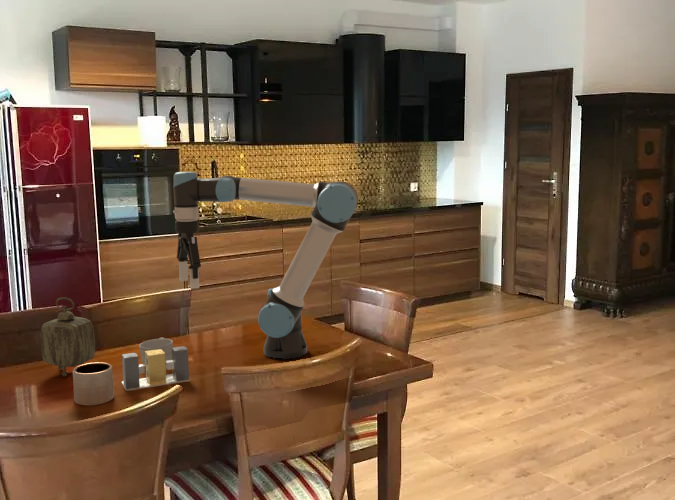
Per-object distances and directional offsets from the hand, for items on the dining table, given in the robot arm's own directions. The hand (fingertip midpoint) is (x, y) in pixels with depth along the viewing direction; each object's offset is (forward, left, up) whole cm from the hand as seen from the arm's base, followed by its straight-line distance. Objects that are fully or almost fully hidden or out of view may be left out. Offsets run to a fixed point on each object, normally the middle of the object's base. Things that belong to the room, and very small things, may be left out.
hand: (189, 284), depth 231 cm
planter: (+34, +20, -27) cm, 48 cm away
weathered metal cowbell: (+38, -7, -27) cm, 47 cm away
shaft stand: (+15, +13, -27) cm, 33 cm away
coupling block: (+15, +13, -26) cm, 33 cm away
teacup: (+10, -4, -27) cm, 29 cm away
